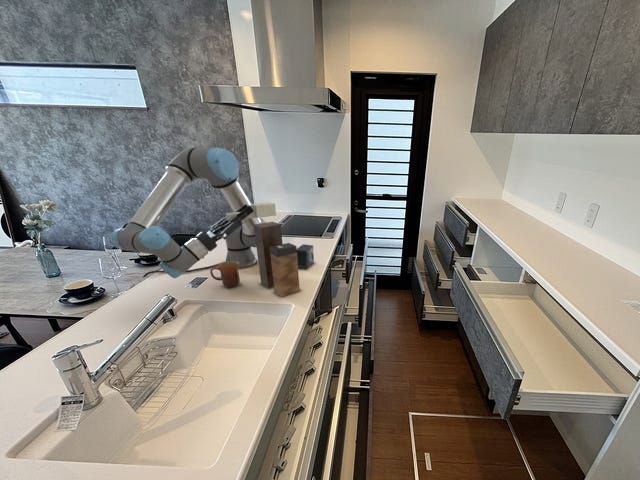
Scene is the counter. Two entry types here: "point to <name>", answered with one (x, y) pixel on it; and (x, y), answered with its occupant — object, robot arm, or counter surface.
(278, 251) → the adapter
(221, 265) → the mug
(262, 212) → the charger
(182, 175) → the robot arm
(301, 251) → the small box
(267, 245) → the tall pedestal
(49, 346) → the counter surface
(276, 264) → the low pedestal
